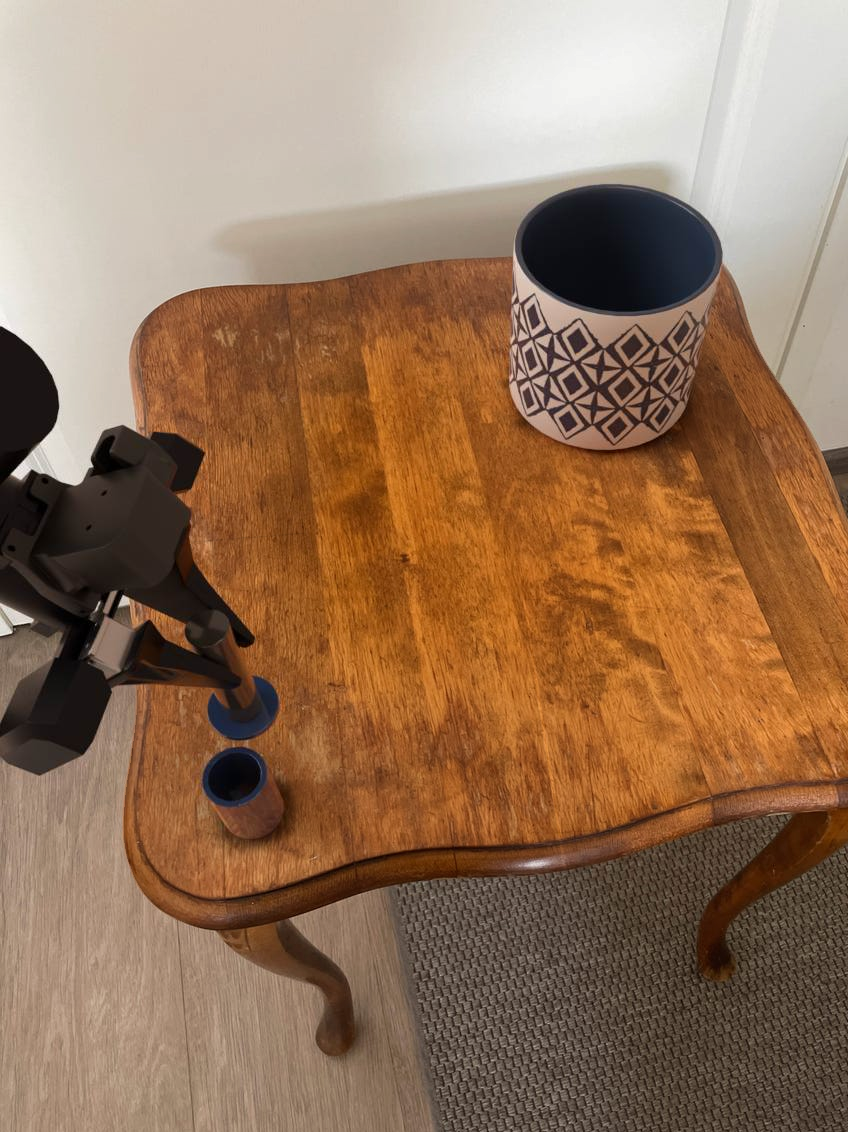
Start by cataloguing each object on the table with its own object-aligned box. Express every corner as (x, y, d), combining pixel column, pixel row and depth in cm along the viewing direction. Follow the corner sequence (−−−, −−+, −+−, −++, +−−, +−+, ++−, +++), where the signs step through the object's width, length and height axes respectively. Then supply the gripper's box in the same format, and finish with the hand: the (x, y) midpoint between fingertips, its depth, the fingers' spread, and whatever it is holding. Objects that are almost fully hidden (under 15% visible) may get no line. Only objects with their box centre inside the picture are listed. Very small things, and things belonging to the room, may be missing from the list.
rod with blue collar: (201, 700, 59) (154, 613, 51) (266, 671, 60) (231, 582, 52) (225, 757, 57) (180, 676, 48) (292, 726, 58) (260, 642, 50)
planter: (685, 332, 87) (718, 187, 75) (690, 460, 79) (729, 322, 66) (514, 322, 88) (520, 177, 75) (502, 448, 79) (506, 309, 67)
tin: (222, 842, 61) (199, 809, 56) (225, 785, 64) (203, 749, 59) (283, 836, 62) (266, 803, 57) (284, 780, 64) (267, 743, 59)
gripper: (-63, 637, 34) (284, 792, 43) (111, 301, 44) (366, 482, 52) (-145, 709, 41) (167, 829, 50) (20, 407, 51) (257, 551, 60)
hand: (244, 664), depth 53 cm, fingers closed on rod with blue collar, 2 cm apart
